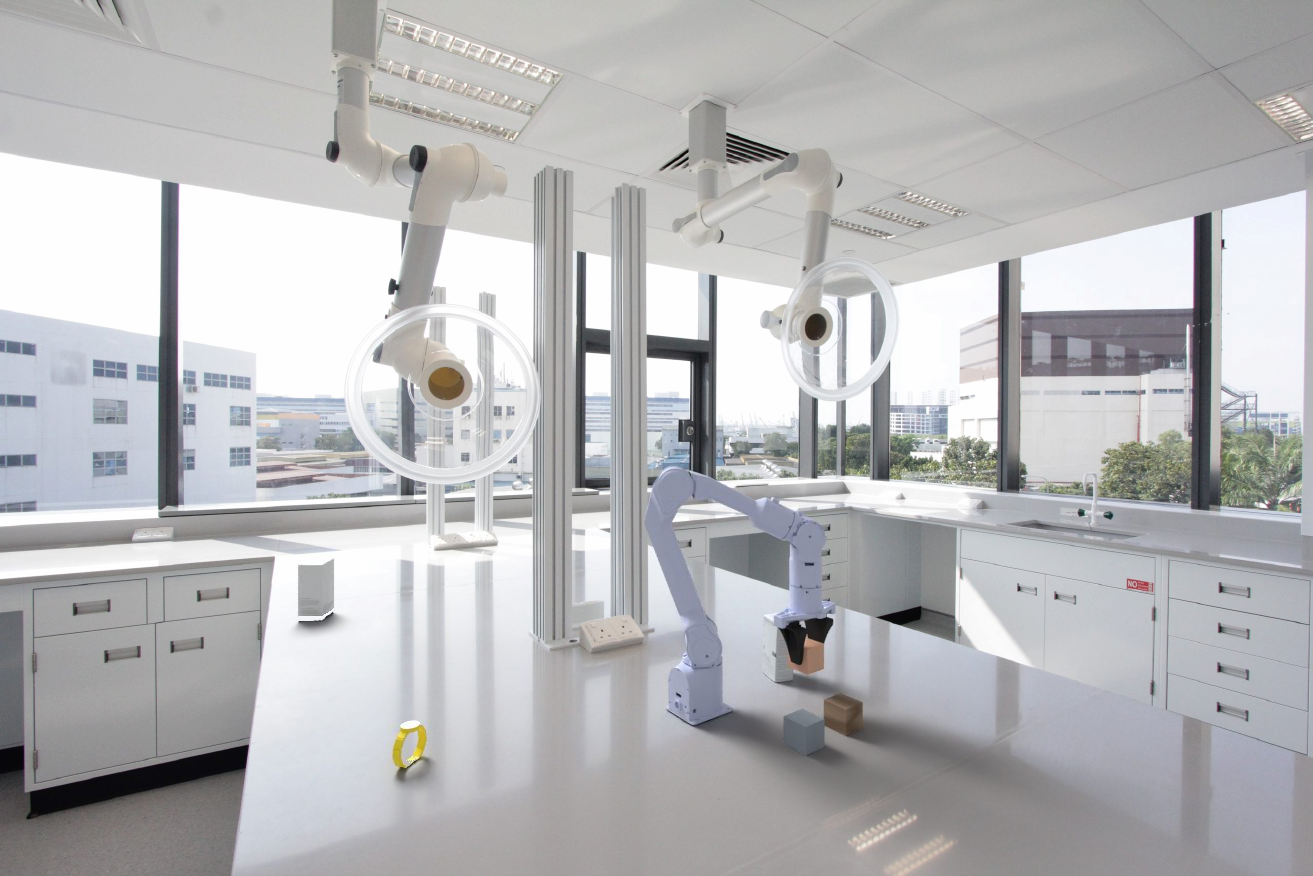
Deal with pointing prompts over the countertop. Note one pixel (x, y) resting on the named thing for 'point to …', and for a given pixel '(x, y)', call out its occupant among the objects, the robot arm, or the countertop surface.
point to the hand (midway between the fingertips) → (805, 659)
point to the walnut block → (843, 714)
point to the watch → (404, 731)
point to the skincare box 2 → (775, 652)
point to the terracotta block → (810, 658)
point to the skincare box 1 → (316, 587)
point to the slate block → (804, 731)
